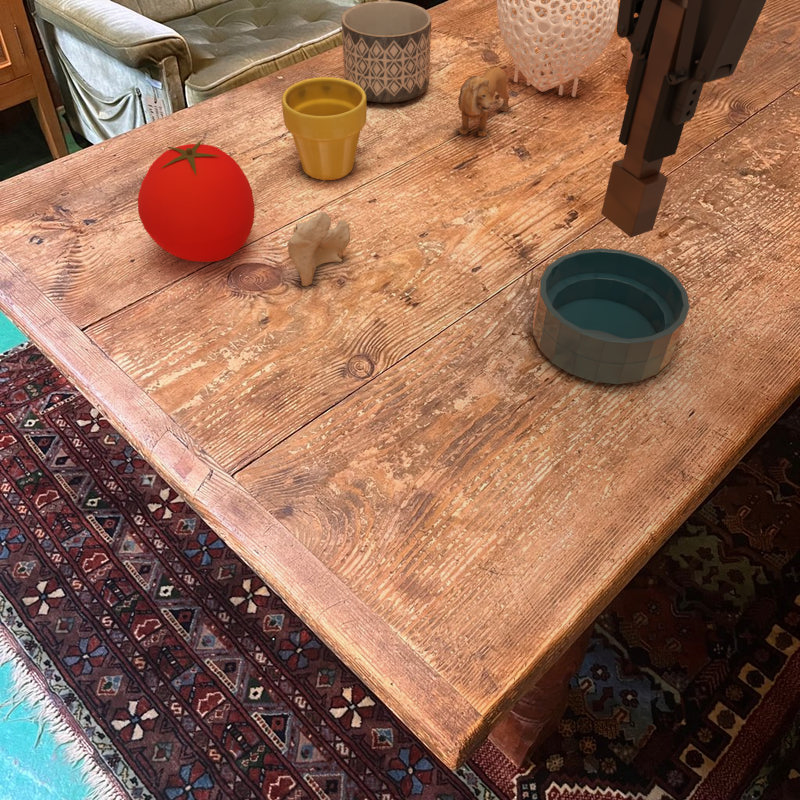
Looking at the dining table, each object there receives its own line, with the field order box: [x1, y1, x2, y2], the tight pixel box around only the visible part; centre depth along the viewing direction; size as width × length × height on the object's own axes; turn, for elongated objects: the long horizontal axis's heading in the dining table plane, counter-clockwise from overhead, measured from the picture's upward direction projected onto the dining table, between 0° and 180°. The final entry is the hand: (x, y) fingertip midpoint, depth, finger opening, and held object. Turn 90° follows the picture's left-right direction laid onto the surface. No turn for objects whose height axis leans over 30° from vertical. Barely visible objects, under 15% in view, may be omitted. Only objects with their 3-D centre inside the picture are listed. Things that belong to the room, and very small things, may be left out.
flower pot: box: [281, 76, 368, 181], centre depth 97 cm, size 10×10×10 cm
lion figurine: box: [457, 66, 510, 138], centre depth 106 cm, size 15×5×9 cm, turn 161°
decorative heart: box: [496, 0, 619, 98], centre depth 110 cm, size 18×11×17 cm, turn 53°
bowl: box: [532, 247, 691, 385], centre depth 77 cm, size 14×14×6 cm
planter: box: [341, 0, 432, 104], centre depth 112 cm, size 13×13×10 cm
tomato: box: [137, 139, 256, 263], centre depth 84 cm, size 12×12×13 cm
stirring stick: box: [600, 0, 688, 238], centre depth 59 cm, size 4×2×18 cm, turn 28°
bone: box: [287, 211, 351, 287], centre depth 84 cm, size 9×6×10 cm
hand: (646, 147), depth 61 cm, fingers closed on stirring stick, 2 cm apart
